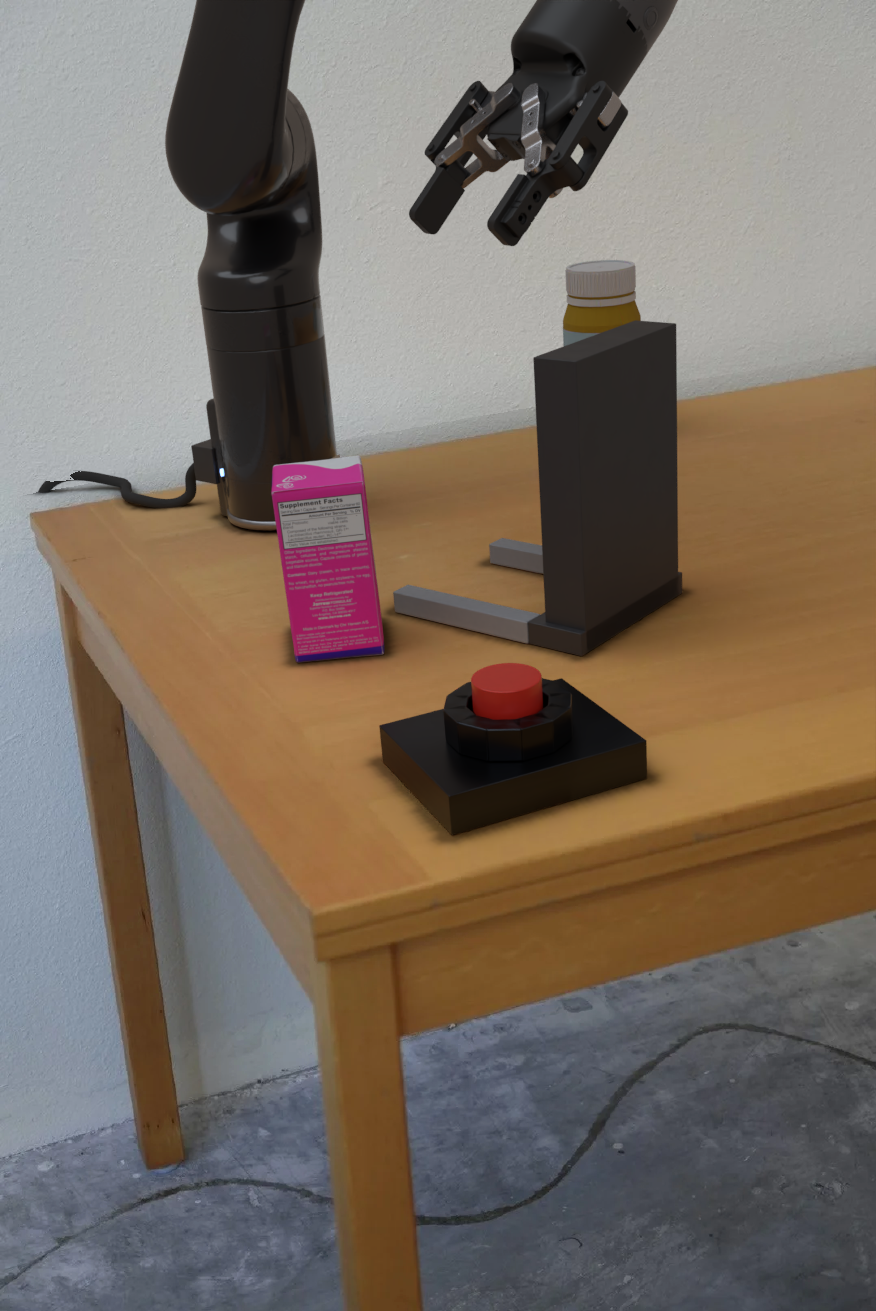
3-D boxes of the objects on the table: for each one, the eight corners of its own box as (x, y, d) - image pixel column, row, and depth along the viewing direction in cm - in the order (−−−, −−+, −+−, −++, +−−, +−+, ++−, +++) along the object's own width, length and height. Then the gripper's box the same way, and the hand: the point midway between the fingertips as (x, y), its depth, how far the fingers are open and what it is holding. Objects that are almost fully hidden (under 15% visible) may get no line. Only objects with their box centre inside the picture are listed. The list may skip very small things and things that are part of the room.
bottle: (641, 419, 139) (639, 257, 133) (643, 439, 133) (640, 270, 127) (567, 422, 140) (561, 261, 134) (565, 442, 134) (559, 274, 128)
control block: (452, 835, 72) (446, 762, 70) (382, 761, 79) (375, 694, 78) (647, 778, 75) (646, 708, 74) (563, 713, 83) (560, 648, 81)
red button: (491, 729, 74) (489, 698, 73) (461, 703, 77) (459, 672, 76) (555, 712, 75) (554, 681, 74) (523, 687, 78) (521, 657, 77)
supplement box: (292, 630, 97) (272, 461, 93) (381, 621, 98) (365, 453, 93) (291, 665, 92) (269, 488, 87) (385, 655, 92) (369, 479, 88)
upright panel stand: (394, 612, 99) (370, 343, 92) (503, 556, 107) (488, 307, 100) (580, 657, 90) (570, 363, 83) (683, 592, 98) (681, 321, 91)
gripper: (494, -21, 95) (357, 186, 94) (641, -35, 84) (488, 199, 83) (561, 61, 100) (432, 259, 99) (709, 59, 89) (565, 281, 88)
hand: (458, 231), depth 91 cm, fingers open, 8 cm apart
